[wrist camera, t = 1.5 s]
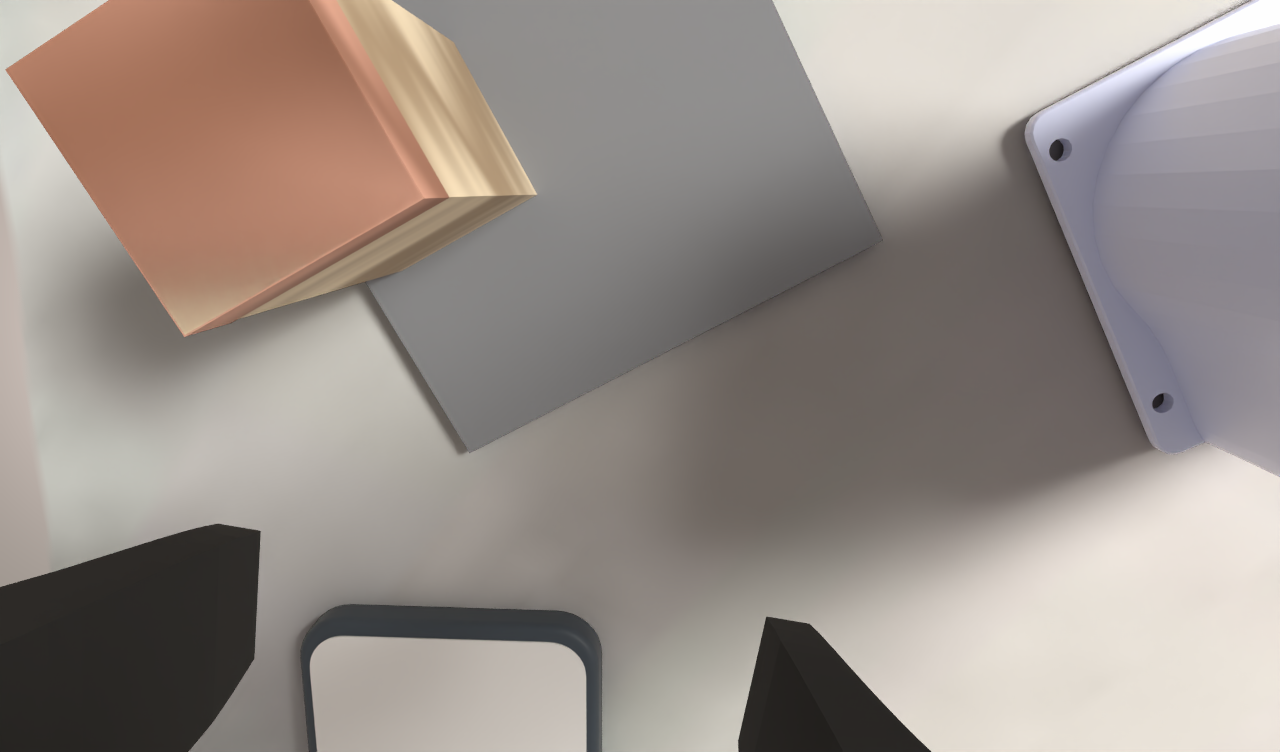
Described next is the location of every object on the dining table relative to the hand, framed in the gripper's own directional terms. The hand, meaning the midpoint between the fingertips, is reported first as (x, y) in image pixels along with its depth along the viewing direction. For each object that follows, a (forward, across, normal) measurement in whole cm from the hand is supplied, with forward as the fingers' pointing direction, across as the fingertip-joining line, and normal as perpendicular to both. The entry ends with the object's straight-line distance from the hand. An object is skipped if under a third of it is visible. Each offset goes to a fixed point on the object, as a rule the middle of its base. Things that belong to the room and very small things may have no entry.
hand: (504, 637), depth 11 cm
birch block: (+10, +5, -6) cm, 13 cm away
